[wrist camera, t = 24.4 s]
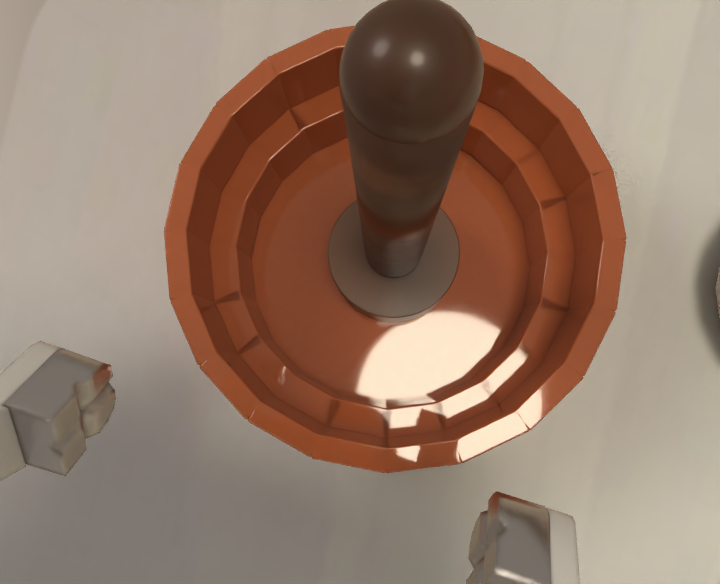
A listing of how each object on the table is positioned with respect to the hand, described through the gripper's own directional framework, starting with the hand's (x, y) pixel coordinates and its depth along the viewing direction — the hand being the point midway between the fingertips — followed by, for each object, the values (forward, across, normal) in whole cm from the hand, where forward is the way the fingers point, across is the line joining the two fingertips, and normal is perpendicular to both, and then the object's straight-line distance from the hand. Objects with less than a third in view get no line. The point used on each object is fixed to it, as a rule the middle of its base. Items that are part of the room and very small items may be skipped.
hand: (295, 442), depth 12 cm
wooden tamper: (+13, 0, +4) cm, 14 cm away
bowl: (+14, 0, +5) cm, 15 cm away
